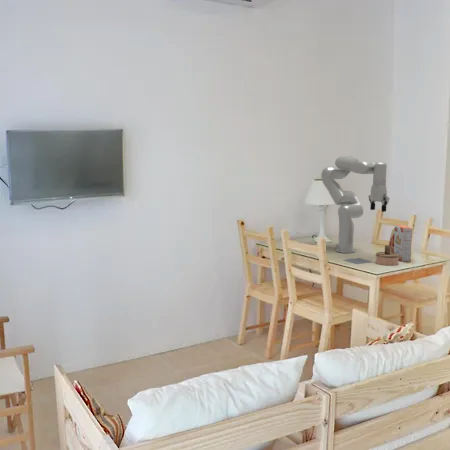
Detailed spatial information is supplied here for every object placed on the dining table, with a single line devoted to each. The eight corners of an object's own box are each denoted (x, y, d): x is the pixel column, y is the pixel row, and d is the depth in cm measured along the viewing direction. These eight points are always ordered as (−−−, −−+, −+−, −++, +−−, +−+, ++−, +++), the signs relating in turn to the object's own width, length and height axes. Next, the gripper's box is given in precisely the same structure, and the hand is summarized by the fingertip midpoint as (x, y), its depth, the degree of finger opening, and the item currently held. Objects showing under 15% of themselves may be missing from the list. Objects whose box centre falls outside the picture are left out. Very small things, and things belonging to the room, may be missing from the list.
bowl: (371, 262, 327) (372, 254, 326) (387, 261, 332) (387, 253, 332) (386, 267, 316) (386, 258, 315) (402, 265, 321) (402, 256, 321)
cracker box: (392, 257, 344) (394, 224, 341) (402, 257, 344) (403, 224, 341) (401, 261, 330) (402, 227, 327) (410, 261, 330) (412, 227, 327)
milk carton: (403, 257, 344) (405, 226, 340) (388, 256, 346) (390, 225, 342) (402, 253, 352) (404, 223, 349) (387, 253, 355) (389, 223, 351)
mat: (342, 260, 332) (342, 259, 332) (359, 258, 338) (359, 258, 338) (356, 265, 321) (356, 264, 321) (373, 263, 327) (373, 262, 326)
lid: (371, 254, 326) (371, 244, 326) (387, 252, 332) (388, 243, 331) (386, 258, 315) (387, 248, 314) (403, 256, 321) (404, 246, 320)
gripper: (365, 182, 337) (363, 209, 340) (384, 183, 322) (383, 212, 325) (374, 181, 341) (373, 208, 343) (394, 183, 325) (392, 211, 328)
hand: (378, 210), depth 334 cm, fingers open, 9 cm apart
